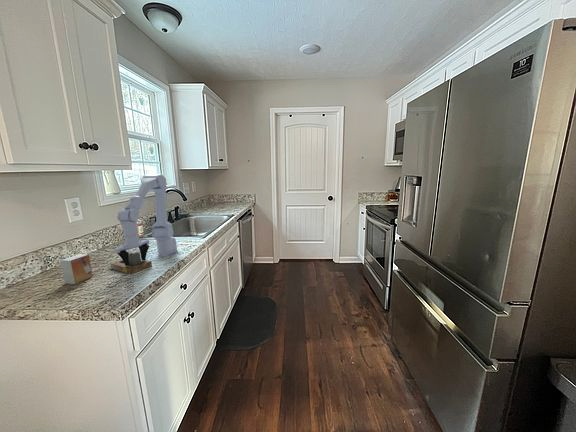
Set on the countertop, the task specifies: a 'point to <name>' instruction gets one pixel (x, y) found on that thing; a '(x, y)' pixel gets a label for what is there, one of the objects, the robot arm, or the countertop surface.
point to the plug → (134, 258)
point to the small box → (76, 268)
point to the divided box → (131, 269)
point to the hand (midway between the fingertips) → (135, 262)
